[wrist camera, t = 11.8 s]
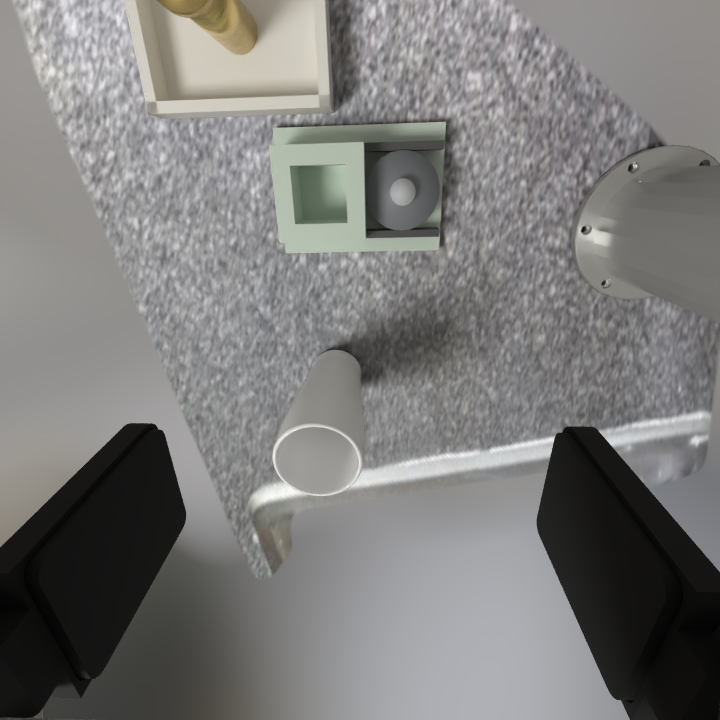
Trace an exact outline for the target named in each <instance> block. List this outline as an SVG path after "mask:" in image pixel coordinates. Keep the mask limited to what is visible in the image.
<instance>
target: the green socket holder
mask: <svg viewBox="0 0 720 720" xmlns="http://www.w3.org/2000/svg"><path fill="white" fill-rule="evenodd" d="M445 132H446V122H428V123H400V124H373V125H345V126H317V127H289V128H273V134H274V143H275V145H269V150H270V159H271V168H272V177H273V187H274V196H275V205H276V214H277V223H278V233H279V242H280V243H285V250H286V253H317V252H366V251H414V250H439V241H440V223H441V205H442V186H443V168H444V150H445Z"/></svg>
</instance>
